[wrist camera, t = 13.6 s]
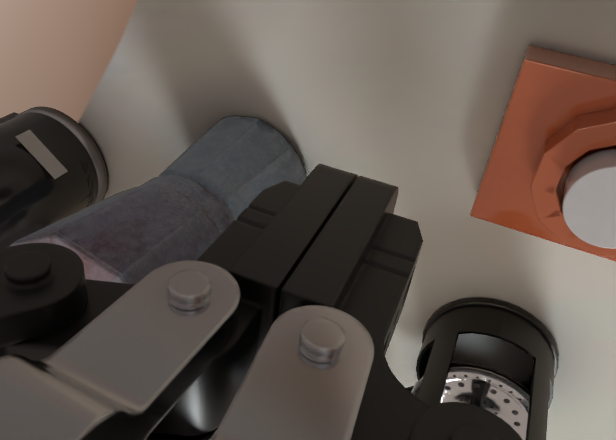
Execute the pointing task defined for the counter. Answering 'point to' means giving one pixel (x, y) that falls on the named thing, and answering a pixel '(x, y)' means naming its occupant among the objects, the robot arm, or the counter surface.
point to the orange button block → (547, 144)
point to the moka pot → (177, 203)
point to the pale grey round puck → (592, 199)
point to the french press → (482, 380)
